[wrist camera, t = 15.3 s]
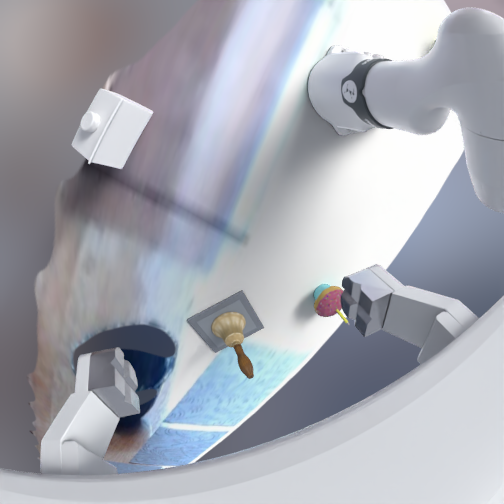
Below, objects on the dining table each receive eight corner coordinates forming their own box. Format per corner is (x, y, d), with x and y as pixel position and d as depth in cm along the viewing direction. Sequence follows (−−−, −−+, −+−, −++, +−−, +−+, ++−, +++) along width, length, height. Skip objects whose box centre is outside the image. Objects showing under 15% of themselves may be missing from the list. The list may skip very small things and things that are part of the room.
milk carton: (153, 111, 39) (152, 115, 24) (131, 149, 41) (118, 178, 26) (117, 93, 36) (92, 85, 20) (95, 132, 37) (60, 150, 22)
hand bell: (217, 309, 62) (238, 364, 49) (250, 313, 66) (276, 364, 53) (206, 335, 65) (224, 390, 52) (238, 338, 69) (259, 388, 56)
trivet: (242, 290, 63) (243, 292, 62) (263, 326, 71) (264, 328, 70) (187, 319, 62) (187, 321, 61) (214, 351, 70) (215, 353, 69)
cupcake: (340, 287, 73) (365, 315, 63) (316, 309, 74) (339, 339, 65) (325, 272, 68) (352, 301, 59) (300, 295, 70) (324, 327, 60)
